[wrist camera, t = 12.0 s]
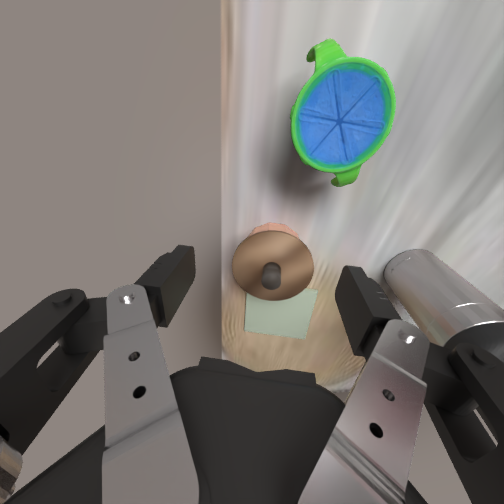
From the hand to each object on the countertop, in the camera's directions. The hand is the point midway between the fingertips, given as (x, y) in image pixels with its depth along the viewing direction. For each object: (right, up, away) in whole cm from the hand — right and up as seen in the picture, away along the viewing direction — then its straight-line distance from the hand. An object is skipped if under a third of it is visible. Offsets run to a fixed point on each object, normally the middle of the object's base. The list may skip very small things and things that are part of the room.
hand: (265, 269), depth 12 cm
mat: (+5, -13, +38) cm, 41 cm away
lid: (+3, -2, +25) cm, 25 cm away
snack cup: (+10, +20, +20) cm, 30 cm away
